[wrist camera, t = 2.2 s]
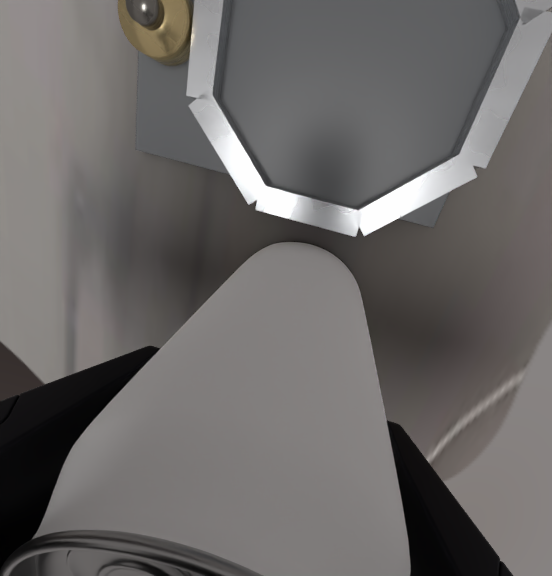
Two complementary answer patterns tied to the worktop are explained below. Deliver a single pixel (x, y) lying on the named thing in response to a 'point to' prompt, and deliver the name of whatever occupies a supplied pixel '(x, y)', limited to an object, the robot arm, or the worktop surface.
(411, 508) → the robot arm
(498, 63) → the socket
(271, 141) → the carrier plate
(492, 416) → the worktop surface
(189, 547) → the can
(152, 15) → the brass round knob
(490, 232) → the worktop surface
